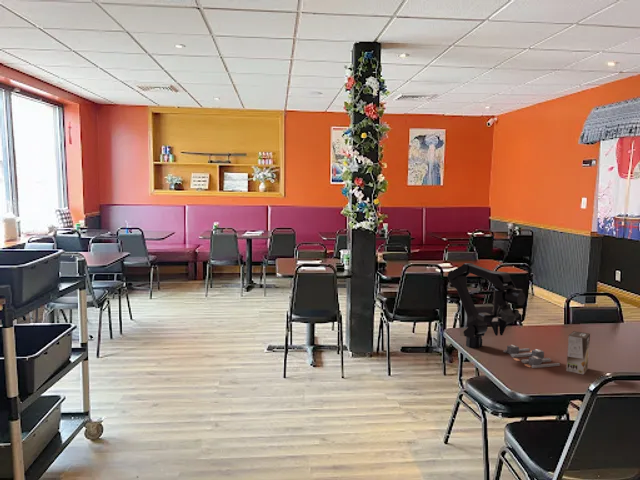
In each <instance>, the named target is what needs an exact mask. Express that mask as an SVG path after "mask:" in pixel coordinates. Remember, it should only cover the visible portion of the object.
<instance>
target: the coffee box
mask: <svg viewBox="0 0 640 480" xmlns="http://www.w3.org/2000/svg"><path fill="white" fill-rule="evenodd" d="M590 340H591V333H587V332H584V331H583V332H582V331H575V330H574V331H572V332H571V333H570V334H569V335H568V340H567V341H568V342H567V343H568V344H567V357H566V369H565V370H566V372H569V373H575V374H579V375H584V374H585V373H586V372H587V371H588V369H589V354H590V343H591V342H590Z"/></svg>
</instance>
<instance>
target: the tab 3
mask: <svg viewBox="0 0 640 480" xmlns="http://www.w3.org/2000/svg"><path fill="white" fill-rule="evenodd" d="M528 359H529V363H528V365H530V366H532V365H539V364H542V363H543V362H542V358H540V357H538V356H533V357H531V356H528Z"/></svg>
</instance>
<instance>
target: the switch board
mask: <svg viewBox="0 0 640 480" xmlns="http://www.w3.org/2000/svg"><path fill="white" fill-rule="evenodd" d="M503 353H504V354H505V353H507V349H503ZM507 354H508V353H507ZM531 356H532V350H531V349H530V348H519V353H516V354H511V355H510V357H511V358H512V359H513V360H514V361H517V362H519V361H521V363H522V364H523V365H524V366H525V367H528V368H532V369H536V368H537V369H539V368H548V367H549V368H551V367H560V366H561V363H560V362H554V363H548V362H552V358H550V357H544V358H542V363H543V364H539V365H532V366H531V365H529V358H526V357H531ZM524 357H525V358H526V359H519V358H524Z"/></svg>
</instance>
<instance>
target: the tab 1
mask: <svg viewBox="0 0 640 480" xmlns="http://www.w3.org/2000/svg"><path fill="white" fill-rule="evenodd" d="M519 349H520V347H519V346H517V345H515V344H510V345H507V346H506V350H507V354H509V355H510V356H511V354H516V353H520V352H519Z"/></svg>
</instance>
